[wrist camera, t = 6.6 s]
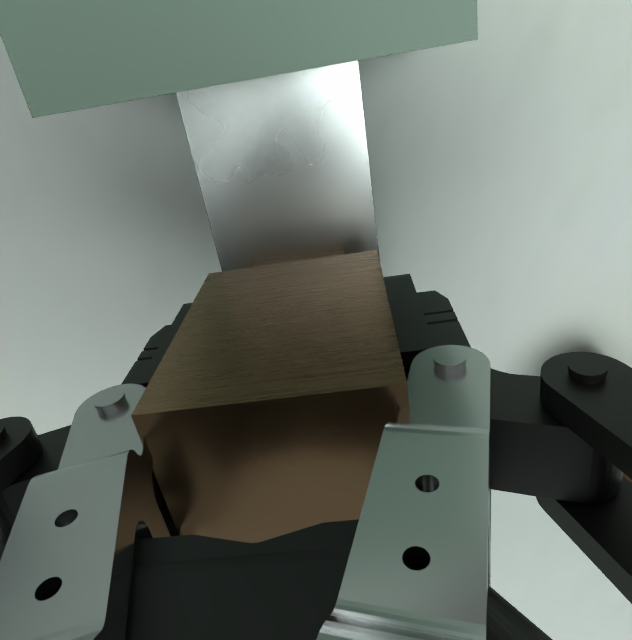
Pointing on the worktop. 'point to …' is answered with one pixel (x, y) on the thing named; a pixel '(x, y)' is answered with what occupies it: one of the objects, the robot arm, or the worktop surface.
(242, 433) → the slider with block handle
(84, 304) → the worktop surface
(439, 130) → the worktop surface
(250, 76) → the green block
